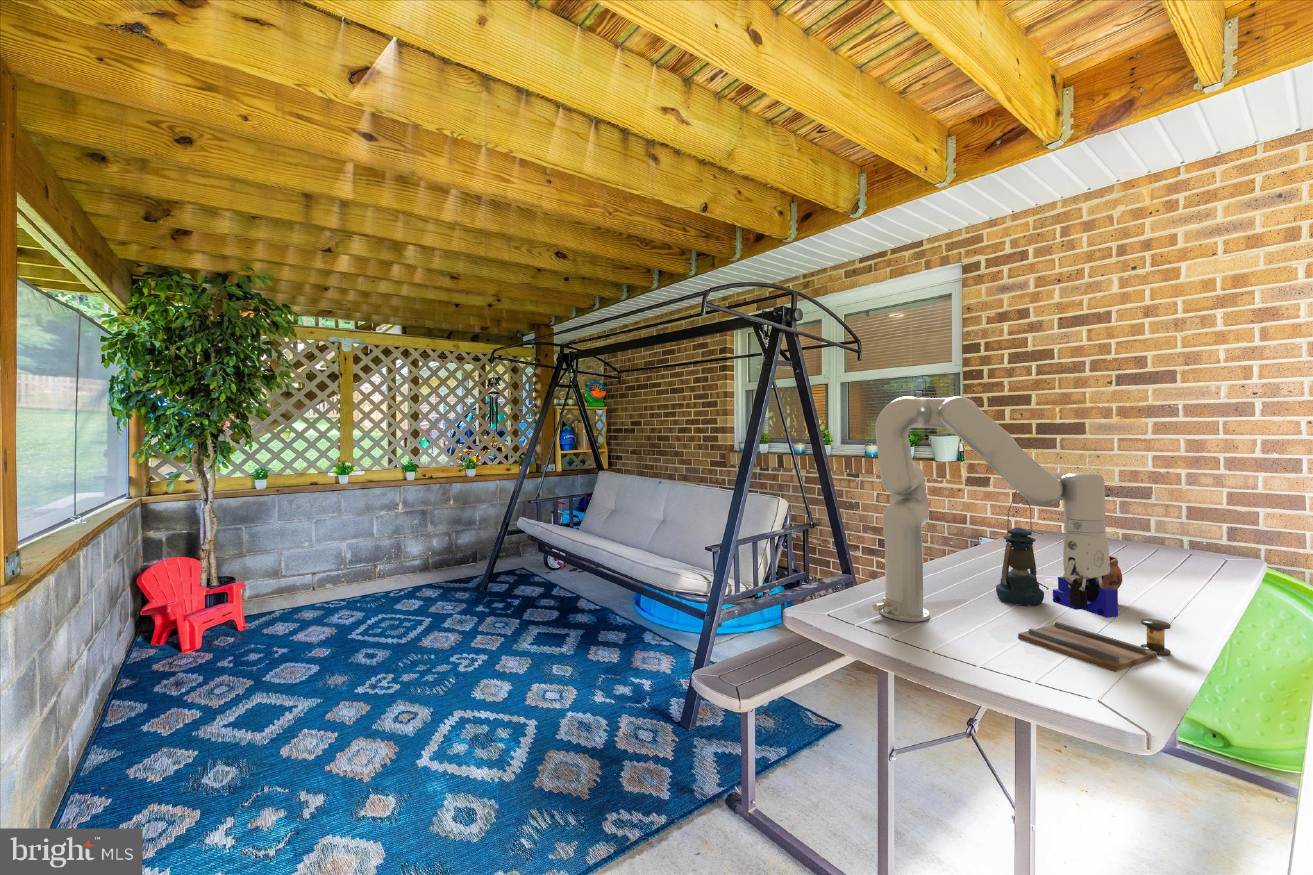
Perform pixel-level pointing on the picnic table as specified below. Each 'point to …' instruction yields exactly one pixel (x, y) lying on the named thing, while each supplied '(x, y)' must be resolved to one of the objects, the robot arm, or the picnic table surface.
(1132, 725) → the picnic table surface
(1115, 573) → the decorative planter
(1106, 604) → the blue cradle block
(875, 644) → the picnic table surface
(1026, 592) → the lantern
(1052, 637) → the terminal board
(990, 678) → the picnic table surface
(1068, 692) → the picnic table surface
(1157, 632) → the copper spool
